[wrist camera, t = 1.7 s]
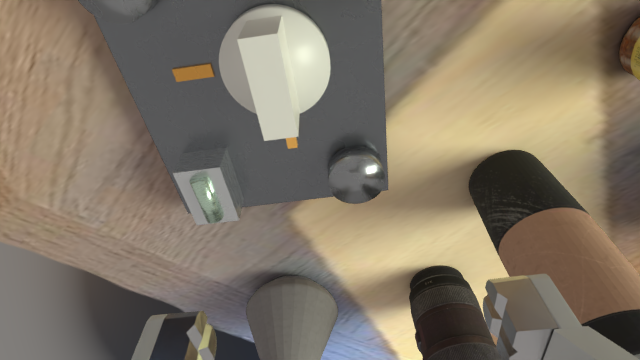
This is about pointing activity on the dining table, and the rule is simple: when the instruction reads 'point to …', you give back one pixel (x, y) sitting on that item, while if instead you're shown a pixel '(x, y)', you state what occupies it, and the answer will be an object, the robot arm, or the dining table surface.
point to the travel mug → (557, 244)
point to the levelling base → (238, 122)
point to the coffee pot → (291, 319)
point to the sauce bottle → (631, 50)
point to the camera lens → (448, 317)
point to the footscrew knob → (275, 67)
